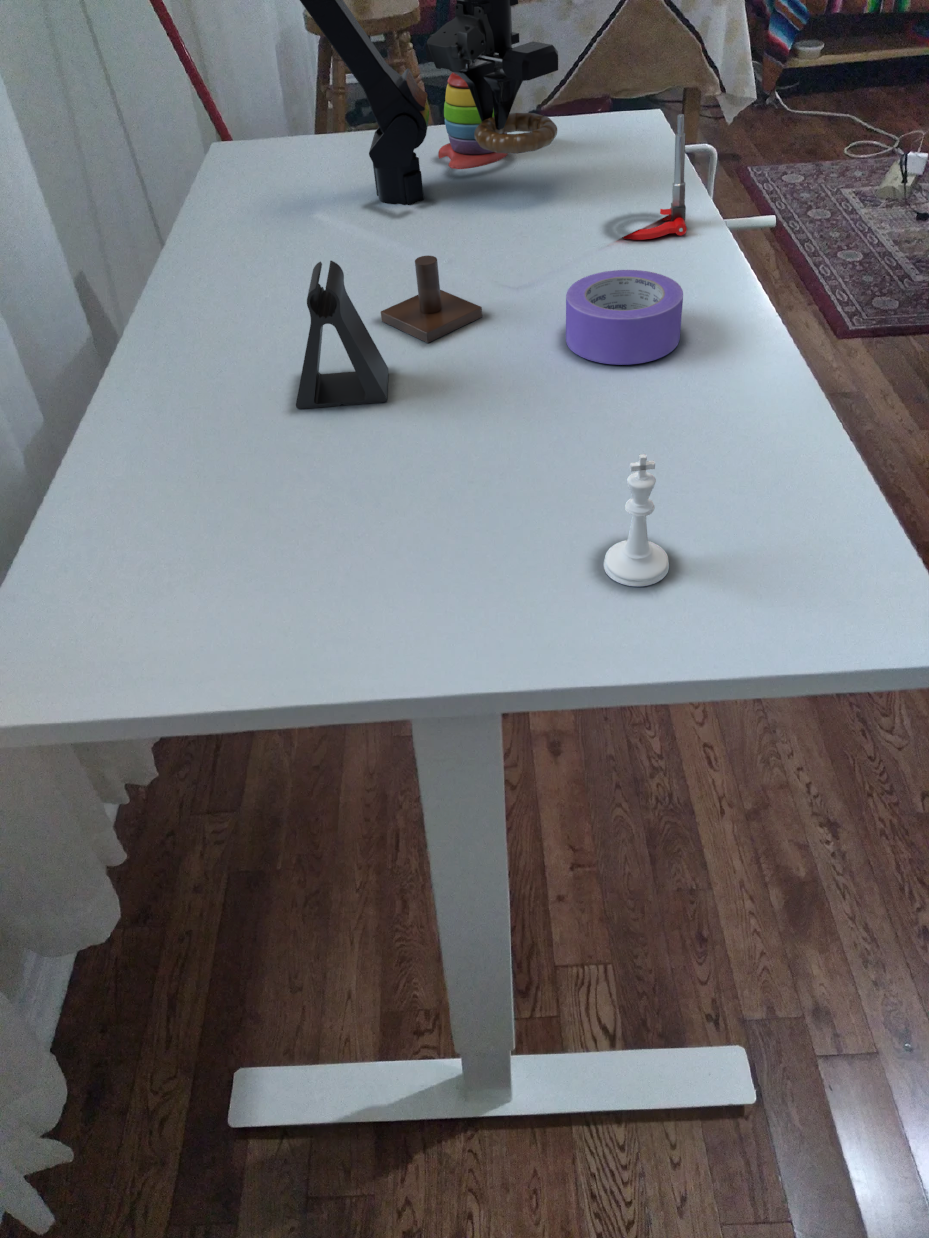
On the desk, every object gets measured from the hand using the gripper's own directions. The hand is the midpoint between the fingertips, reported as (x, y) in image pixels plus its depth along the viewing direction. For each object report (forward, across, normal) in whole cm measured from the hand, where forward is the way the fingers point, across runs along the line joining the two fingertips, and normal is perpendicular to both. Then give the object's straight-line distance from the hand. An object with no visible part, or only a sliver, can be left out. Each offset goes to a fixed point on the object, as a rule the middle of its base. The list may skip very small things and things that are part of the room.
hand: (493, 127), depth 126 cm
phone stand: (+9, +26, -46) cm, 53 cm away
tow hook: (+9, +23, +4) cm, 25 cm away
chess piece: (+9, +65, -47) cm, 80 cm away
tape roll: (+9, +40, -20) cm, 45 cm away
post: (+9, +21, -30) cm, 37 cm away
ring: (0, +4, 0) cm, 4 cm away
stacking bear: (+9, -13, +8) cm, 18 cm away
